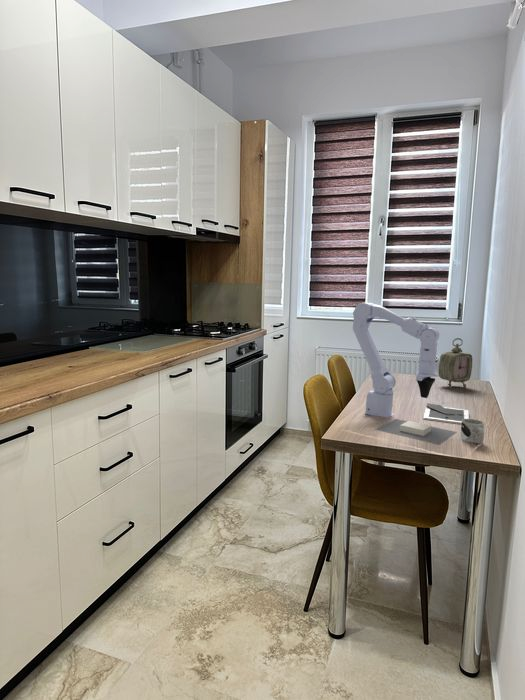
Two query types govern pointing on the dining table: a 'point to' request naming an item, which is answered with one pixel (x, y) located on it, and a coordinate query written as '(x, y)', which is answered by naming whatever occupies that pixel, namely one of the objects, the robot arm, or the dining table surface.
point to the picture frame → (445, 414)
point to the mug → (472, 431)
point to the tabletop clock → (455, 365)
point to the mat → (433, 436)
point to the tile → (415, 428)
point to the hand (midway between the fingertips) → (424, 397)
